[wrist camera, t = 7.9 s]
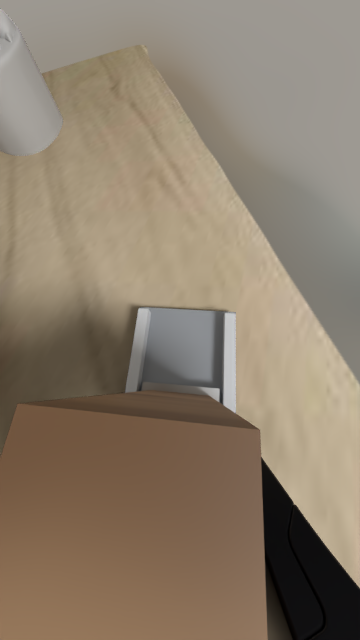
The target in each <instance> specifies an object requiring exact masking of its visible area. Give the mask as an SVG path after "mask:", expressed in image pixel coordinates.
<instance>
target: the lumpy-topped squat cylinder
mask: <svg viewBox="0 0 360 640" xmlns="http://www.w3.org/2000/svg"><path fill="white" fill-rule="evenodd" d="M62 123H63V118H62V115H61V113H60V111H59V109H58V107H57V105H56V103H55V101H54V99H53V97H52V95H51V93H50V91H49V89H48V87H47V85H46V83H45V81H44V79H43V76H42V74H41V72H40V70H39V68H38V66H37V64H36V62H35V60H34V58H33V56H32V54H31V52H30V50H29V48H28V46H27V45H26V42H25V40H24V38H23V36H22V34H21V32H20V30H19V28H18V27H17V26H16V24H14V22H13V21H12V20H11V19H10V18H9V16H8V15H7V14H6V13H5V12H4V11H3V10H2V9H0V151H2V152H4V153H7V154H10V155H16V156H26V155H32V154H35V153H38V152H40V151H42V150H44V149H45V148H47V147H48V146H49V145H50V144H51V143H52V142H53V141H54V140H55V139H56V137H57V136H58V134H59V132H60V129H61V127H62Z"/></svg>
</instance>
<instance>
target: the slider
mask: <svg viewBox="0 0 360 640" xmlns="http://www.w3.org/2000/svg"><path fill="white" fill-rule="evenodd" d="M143 382H152V383H163V384H174V385H185V386H196V387H207V388H218V389H220V395H219V403H221V404H222V405H224V406H225V407H227V408H228V409H230V410H231V411H233V412H234V413H236V312H222V311H204V310H186V309H167V308H149V307H140V308H139V309H138V315H137V321H136V327H135V334H134V340H133V346H132V352H131V358H130V364H129V370H128V376H127V383H126V389H125V393H127V392H137V391H142V384H143Z"/></svg>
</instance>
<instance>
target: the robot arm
mask: <svg viewBox="0 0 360 640" xmlns="http://www.w3.org/2000/svg"><path fill="white" fill-rule="evenodd" d="M261 470H262V498H263V526H264V553H265V581H266V609H267V636H268V640H360V588H359V587H358V586H357V584H356V583H355V582H354V581H353V580H352V578H351V577H350V576H349V575H348V573H347V572H346V571H345V570H344V568H343V567H342V566H341V564H340V563H339V562H338V561H337V559H336V558H335V557H334V556H333V554H332V553H331V552H330V551H329V549H328V548H327V547H326V546H325V544H324V543H323V542H322V540H321V539H320V537H319V536H318V535H317V533H316V532H315V531H314V529H313V528H312V527H311V525H310V524H309V523H308V521H307V520H306V519H305V517H304V516H303V514H302V513H301V511H300V510H299V509H298V507H297V506H296V505H293V504H294V503H293V501H292V499H291V498H290V497H289V495H288V494H287V492H286V491H285V490H284V488H283V487H282V485H281V484H280V483H279V481H278V480H277V478H276V477H275V476H274V474H273V473H272V471H271V470H270V469H269V467H268V466H267V464H266V463H265V461H264V460H263V459H262V457H261Z"/></svg>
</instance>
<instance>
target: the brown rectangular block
mask: <svg viewBox="0 0 360 640" xmlns="http://www.w3.org/2000/svg"><path fill="white" fill-rule="evenodd" d="M219 395H220V389H218V388H207V387H196V386H185V385H174V384H163V383H152V382H143V384H142V391H137V392H127V393H117V394H107V395H97V396H88V397H78V398H68V399H58V400H48V401H38V402H28V403H18V404H17V407H16V410H15V413H14V416H13V420H12V423H11V426H10V429H9V432H8V435H7V438H6V442H5V445H4V448H3V451H2V454H1V457H0V640H268V636H267V609H266V581H265V553H264V526H263V498H262V470H261V442H260V430H259V429H258V428H256V427H255V426H253V425H252V424H250V423H249V422H248V421H246V420H245V419H243V418H242V417H240V416H239V415H237V414H236V413H234V412H233V411H231V410H230V409H228V408H227V407H225V406H224V405H222V404H221V403H219Z"/></svg>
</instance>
